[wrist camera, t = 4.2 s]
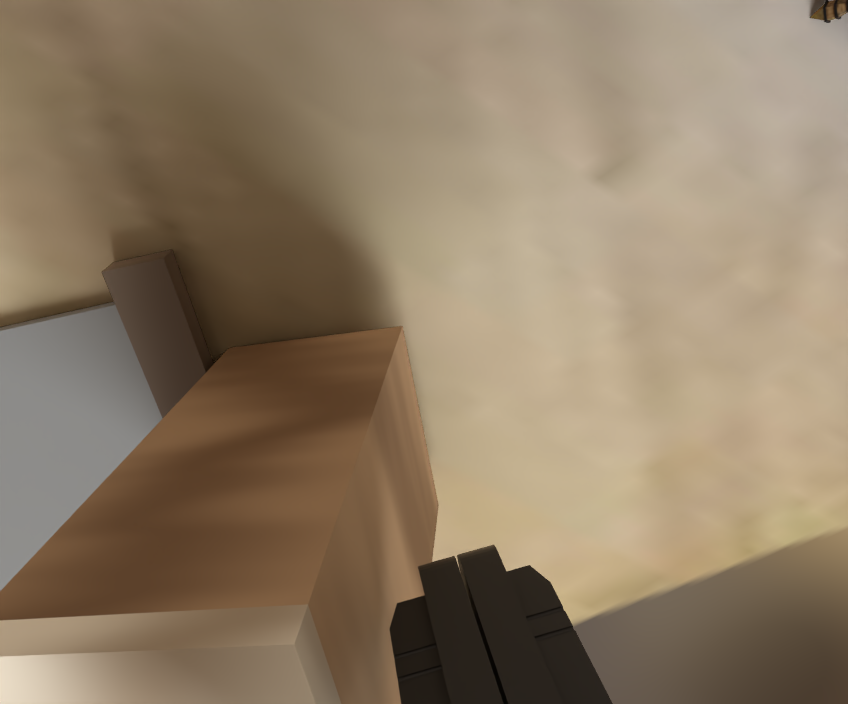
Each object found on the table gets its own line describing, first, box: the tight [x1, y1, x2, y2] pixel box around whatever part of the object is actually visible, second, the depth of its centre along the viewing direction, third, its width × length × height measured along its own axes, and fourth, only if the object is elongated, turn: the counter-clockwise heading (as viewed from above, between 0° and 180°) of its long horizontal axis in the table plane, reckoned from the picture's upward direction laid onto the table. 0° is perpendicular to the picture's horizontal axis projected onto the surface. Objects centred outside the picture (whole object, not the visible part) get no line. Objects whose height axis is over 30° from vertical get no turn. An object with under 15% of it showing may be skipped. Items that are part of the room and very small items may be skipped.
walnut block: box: [0, 326, 438, 704], centre depth 13 cm, size 5×6×10 cm
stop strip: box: [102, 250, 214, 418], centre depth 18 cm, size 2×12×1 cm, turn 11°
